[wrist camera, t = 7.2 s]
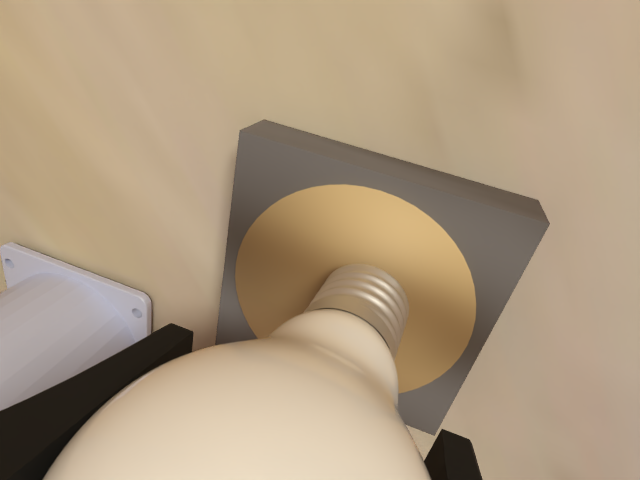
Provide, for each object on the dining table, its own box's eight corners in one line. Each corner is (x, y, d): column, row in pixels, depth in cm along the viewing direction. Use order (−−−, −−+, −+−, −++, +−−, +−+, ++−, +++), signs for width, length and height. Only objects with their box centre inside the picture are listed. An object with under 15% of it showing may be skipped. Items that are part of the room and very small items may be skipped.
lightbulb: (426, 161, 11) (17, 895, 2) (510, 356, 12) (538, 1300, 3) (246, 234, 14) (-237, 625, 5) (331, 382, 16) (85, 893, 6)
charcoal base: (436, 398, 17) (434, 440, 15) (235, 322, 18) (212, 352, 17) (538, 200, 13) (551, 226, 11) (263, 119, 14) (236, 131, 12)
